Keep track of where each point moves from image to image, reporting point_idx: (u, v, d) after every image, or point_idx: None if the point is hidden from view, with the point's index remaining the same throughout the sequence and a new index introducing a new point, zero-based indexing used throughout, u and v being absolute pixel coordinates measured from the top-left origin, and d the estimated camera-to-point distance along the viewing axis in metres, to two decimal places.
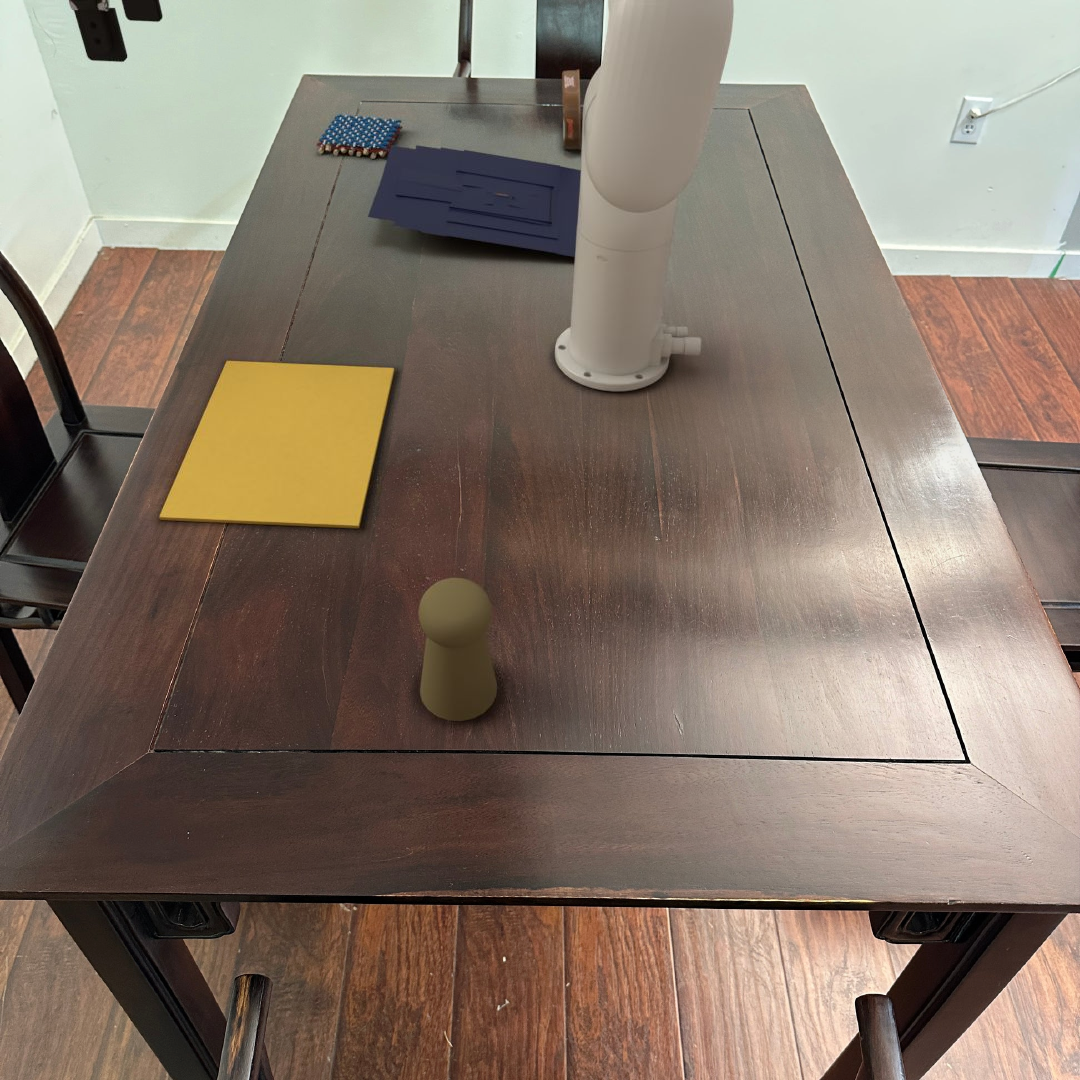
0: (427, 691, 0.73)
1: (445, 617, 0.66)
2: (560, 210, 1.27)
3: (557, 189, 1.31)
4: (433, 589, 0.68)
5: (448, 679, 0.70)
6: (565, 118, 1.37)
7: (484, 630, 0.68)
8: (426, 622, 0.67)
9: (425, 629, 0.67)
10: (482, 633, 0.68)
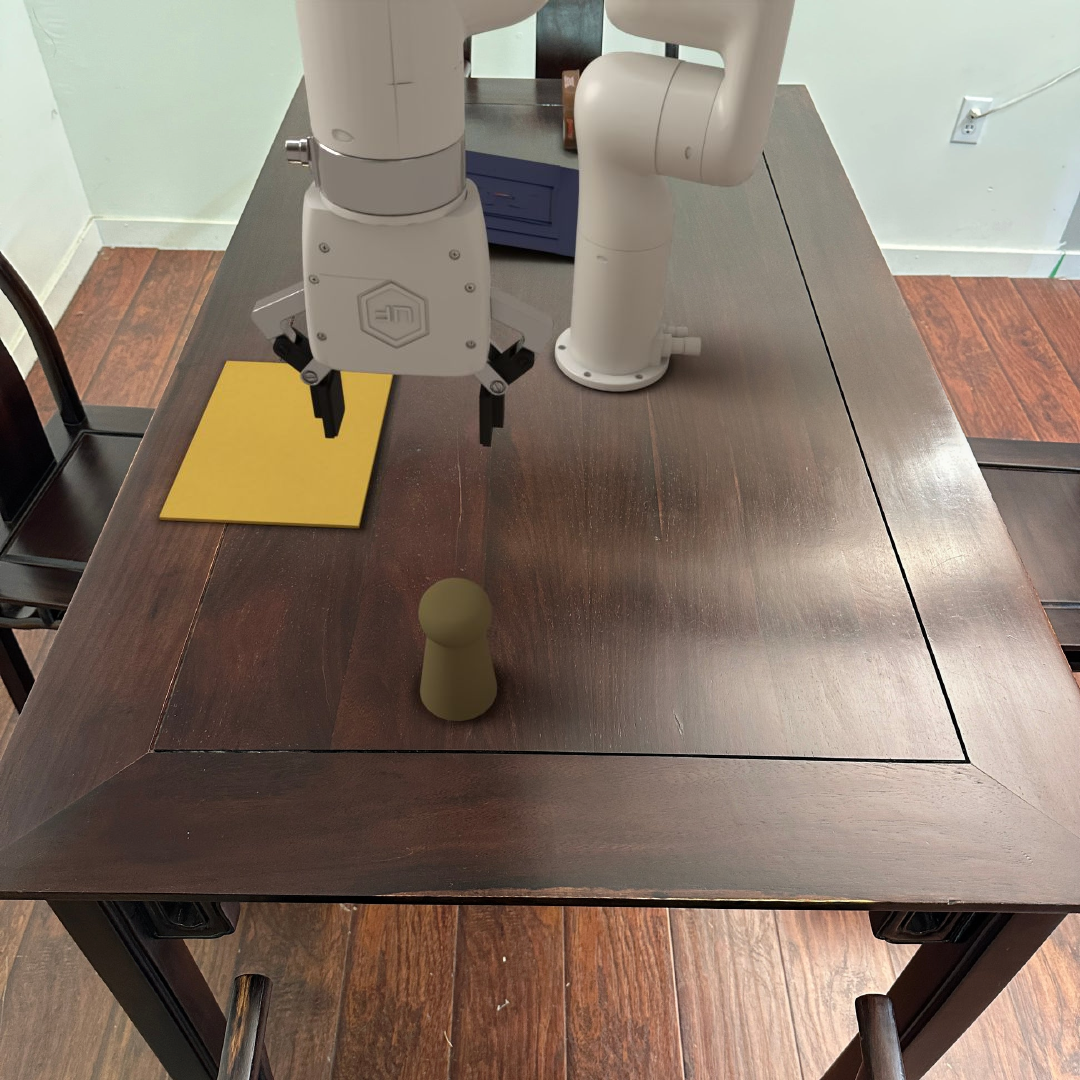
0: (427, 691, 0.73)
1: (445, 617, 0.66)
2: (560, 210, 1.27)
3: (557, 189, 1.31)
4: (433, 589, 0.68)
5: (448, 679, 0.70)
6: (565, 118, 1.37)
7: (484, 630, 0.68)
8: (425, 622, 0.67)
9: (425, 629, 0.67)
10: (482, 633, 0.68)
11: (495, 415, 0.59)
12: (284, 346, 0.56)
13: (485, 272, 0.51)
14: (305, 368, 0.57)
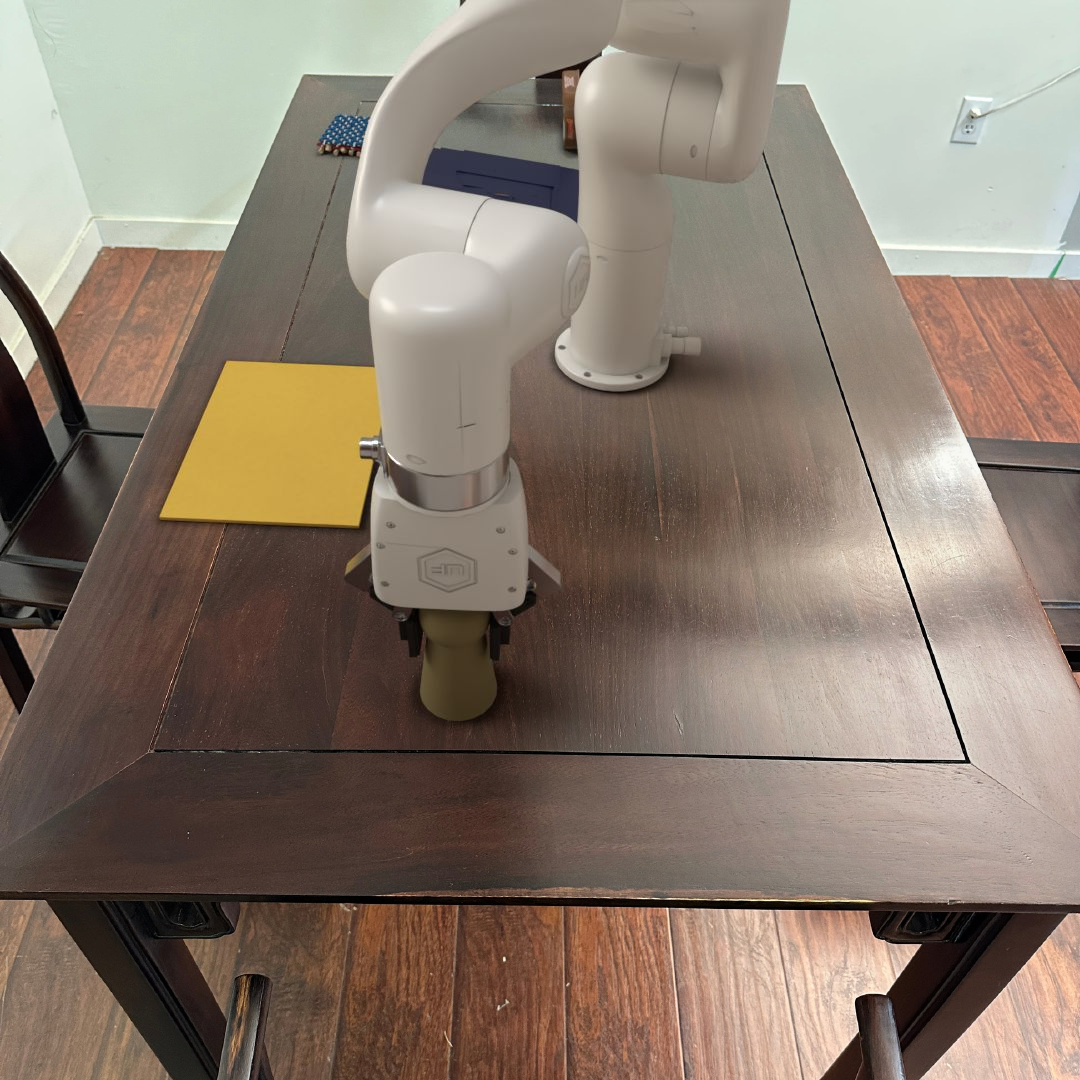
0: (427, 691, 0.73)
1: (445, 617, 0.66)
2: (560, 210, 1.27)
3: (557, 189, 1.31)
4: None
5: (448, 679, 0.70)
6: (565, 118, 1.37)
7: (484, 630, 0.68)
8: (425, 622, 0.67)
9: (425, 629, 0.67)
10: (482, 633, 0.68)
11: (502, 636, 0.69)
12: None
13: (525, 536, 0.61)
14: (394, 611, 0.67)
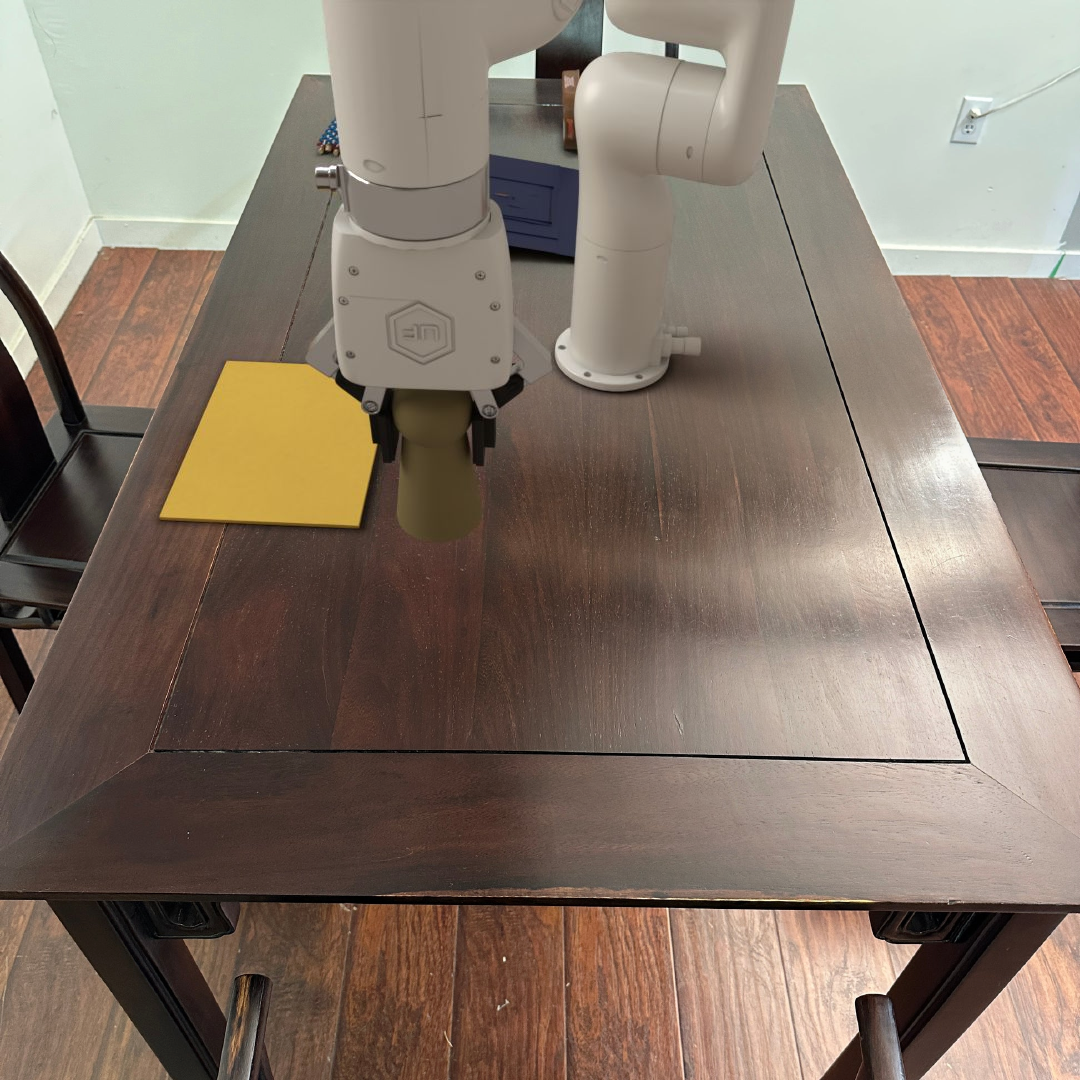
0: (404, 508, 0.65)
1: (421, 405, 0.59)
2: (560, 210, 1.27)
3: (557, 189, 1.31)
4: None
5: (427, 488, 0.63)
6: (565, 118, 1.37)
7: (465, 425, 0.60)
8: (399, 414, 0.59)
9: (399, 423, 0.60)
10: (463, 429, 0.60)
11: (487, 436, 0.62)
12: (346, 378, 0.58)
13: (509, 290, 0.53)
14: (363, 400, 0.59)
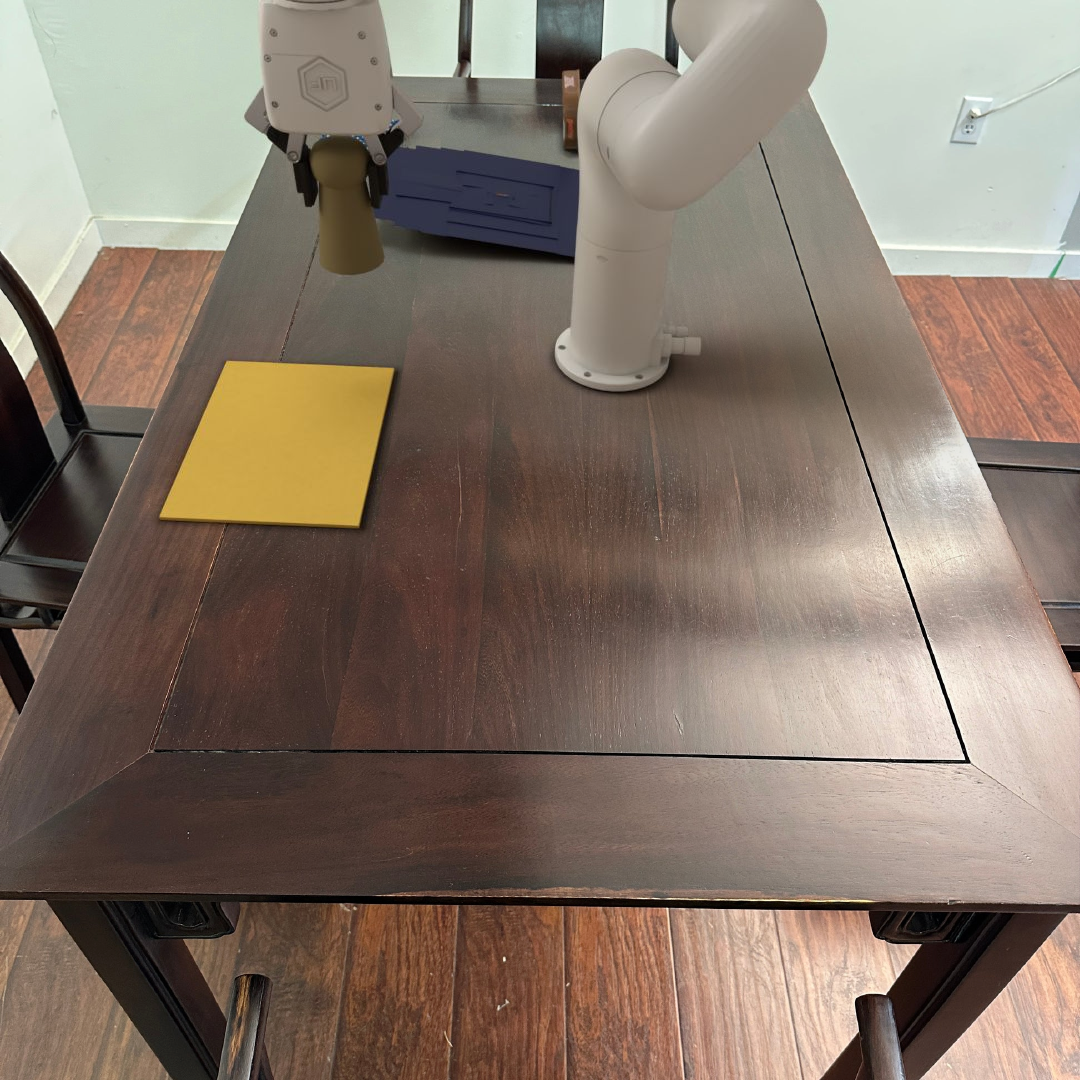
0: (323, 248, 0.88)
1: (329, 152, 0.81)
2: (560, 210, 1.27)
3: (557, 189, 1.31)
4: (320, 139, 0.83)
5: (338, 226, 0.85)
6: (565, 118, 1.37)
7: (363, 171, 0.83)
8: (314, 160, 0.82)
9: (314, 169, 0.82)
10: (361, 173, 0.83)
11: (380, 183, 0.84)
12: (274, 132, 0.81)
13: (384, 51, 0.76)
14: (287, 150, 0.82)
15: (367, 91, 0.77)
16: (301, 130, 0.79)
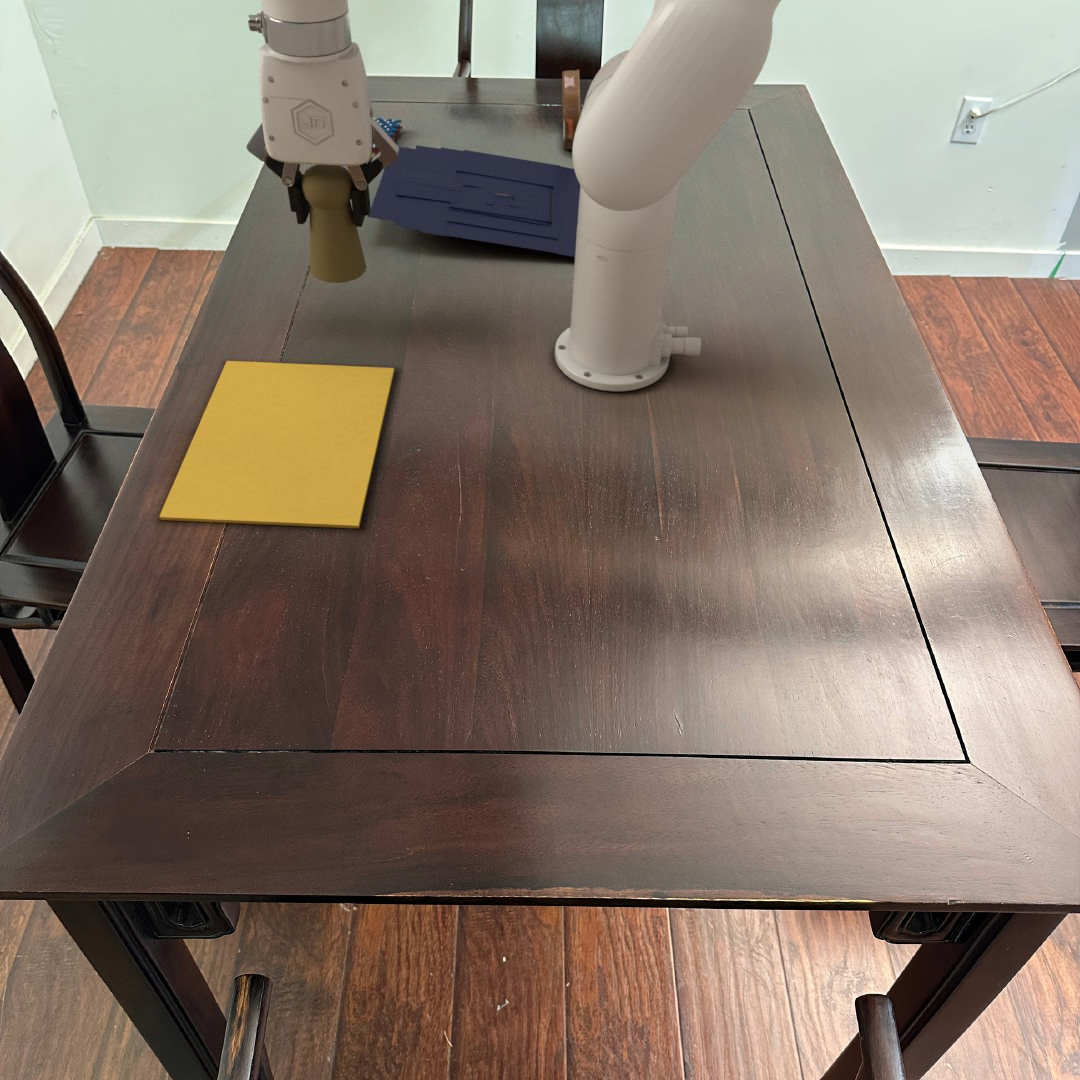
0: (313, 259, 1.02)
1: (318, 178, 0.95)
2: (560, 210, 1.27)
3: (557, 189, 1.31)
4: (312, 166, 0.97)
5: (325, 240, 0.99)
6: (565, 118, 1.37)
7: (347, 195, 0.97)
8: (305, 185, 0.96)
9: (305, 192, 0.96)
10: (346, 197, 0.97)
11: (362, 205, 0.98)
12: (272, 160, 0.95)
13: (364, 96, 0.90)
14: (282, 176, 0.96)
15: (349, 129, 0.91)
16: (294, 160, 0.93)
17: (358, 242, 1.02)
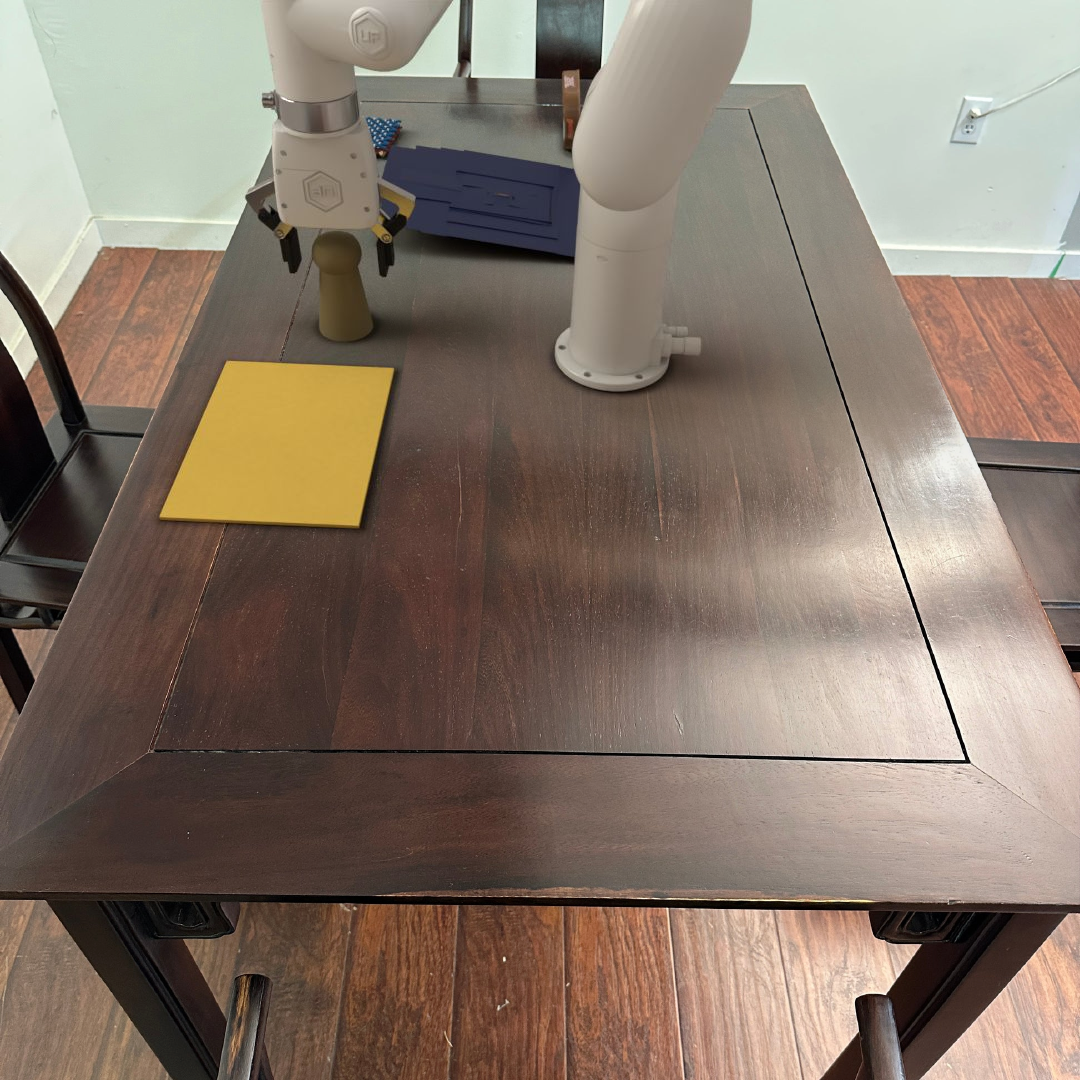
0: (322, 319, 1.07)
1: (327, 247, 1.01)
2: (560, 210, 1.27)
3: (557, 189, 1.31)
4: (321, 234, 1.02)
5: (334, 303, 1.05)
6: (565, 118, 1.37)
7: (355, 261, 1.02)
8: (315, 252, 1.01)
9: (315, 259, 1.02)
10: (354, 263, 1.02)
11: (387, 257, 1.02)
12: (264, 215, 0.99)
13: (372, 167, 0.94)
14: (276, 228, 1.00)
15: (358, 197, 0.95)
16: (305, 225, 0.98)
17: (365, 303, 1.07)
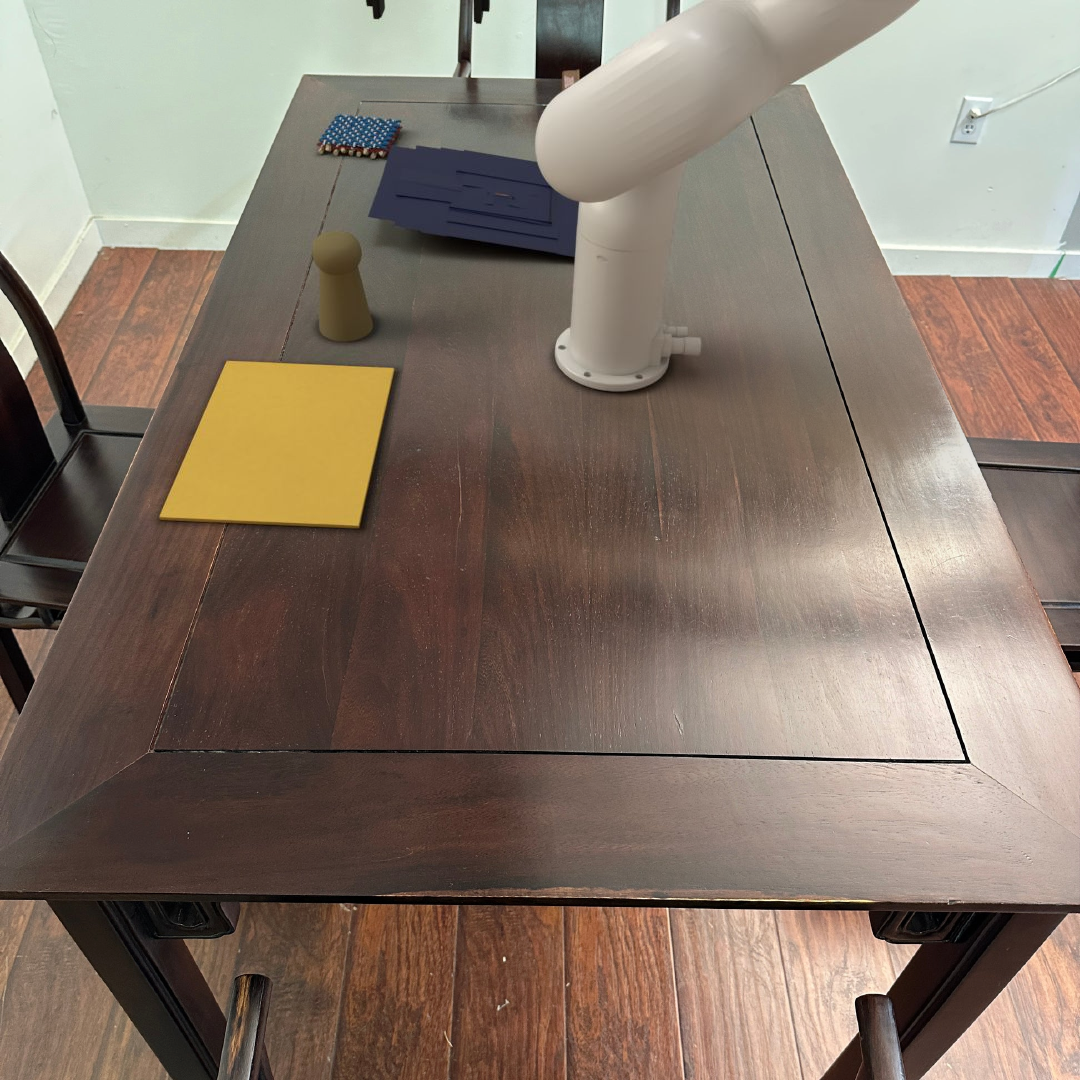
0: (322, 319, 1.07)
1: (327, 247, 1.00)
2: (560, 210, 1.27)
3: None
4: (321, 234, 1.02)
5: (334, 303, 1.05)
6: None
7: (355, 261, 1.02)
8: (315, 252, 1.01)
9: (315, 259, 1.02)
10: (354, 263, 1.02)
11: None
12: None
13: None
14: None
15: None
16: None
17: (365, 303, 1.07)
